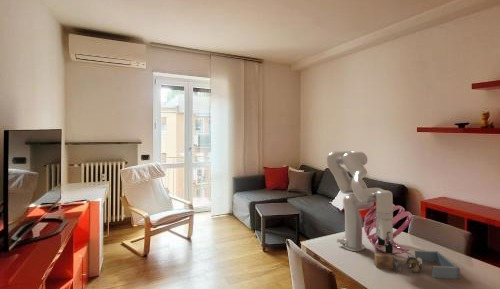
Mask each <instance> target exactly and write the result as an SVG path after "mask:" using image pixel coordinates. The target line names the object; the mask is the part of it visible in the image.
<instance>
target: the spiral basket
mask: <svg viewBox="0 0 500 289" xmlns="http://www.w3.org/2000/svg"><path fill="white" fill-rule="evenodd" d="M397 210H399V211H398V213H397V214H396V215H395V216H393V220H392V227H394V226H395V225H396V224H397V223H398V222H399V221H400V220H403V219H404V218H405V217H406V220H405V221H404V222H403V223H402V224H401V226H399V227H398V228H397V229H396V230H395V231H393V247H395V248H397V249H399V250H401V251H397V252H396V251H395V252H394V251H393V253H386V252H385V249H382V248H380V247H382V246H383V245H378V235H377V234H376V232H375V233H373V234H370V233H371V232H372V230H373V229H376V220H377V218H376V205H375V206H374V205H373V207H372V208H370V209H369V210H368V211H367V212H366V214H365V215H364V221H363V230H364V233H365V236H366V238H367V240H368V241H369V243H370V244H371V245H372V246H373V247H374V248H376V249H377V250H379V251H380V252H383V253H384V254H392V255H401V254H404V253H406V252H408V251H410V249H409V248H404V247H402V246H401V245H400V244H398V243H397V242H396V241H395V240H394V239H395V238H396V237H398V236H399V235H400V234H401V233H402V232H404V230H406V228H408V227H409V225H410V224H411V223H412V220H413V218H414V216H413V214H412V213H411V212H410V211H406V210H405V208H404V207H403V206H401V205H395V204H394V203H393V212H395V211H397ZM370 221H371V223H370V224H369V225H367V224H368V223H369V222H370ZM386 239H389V238H386ZM387 242H388V241H387ZM385 245H386V242H385Z"/></svg>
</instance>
